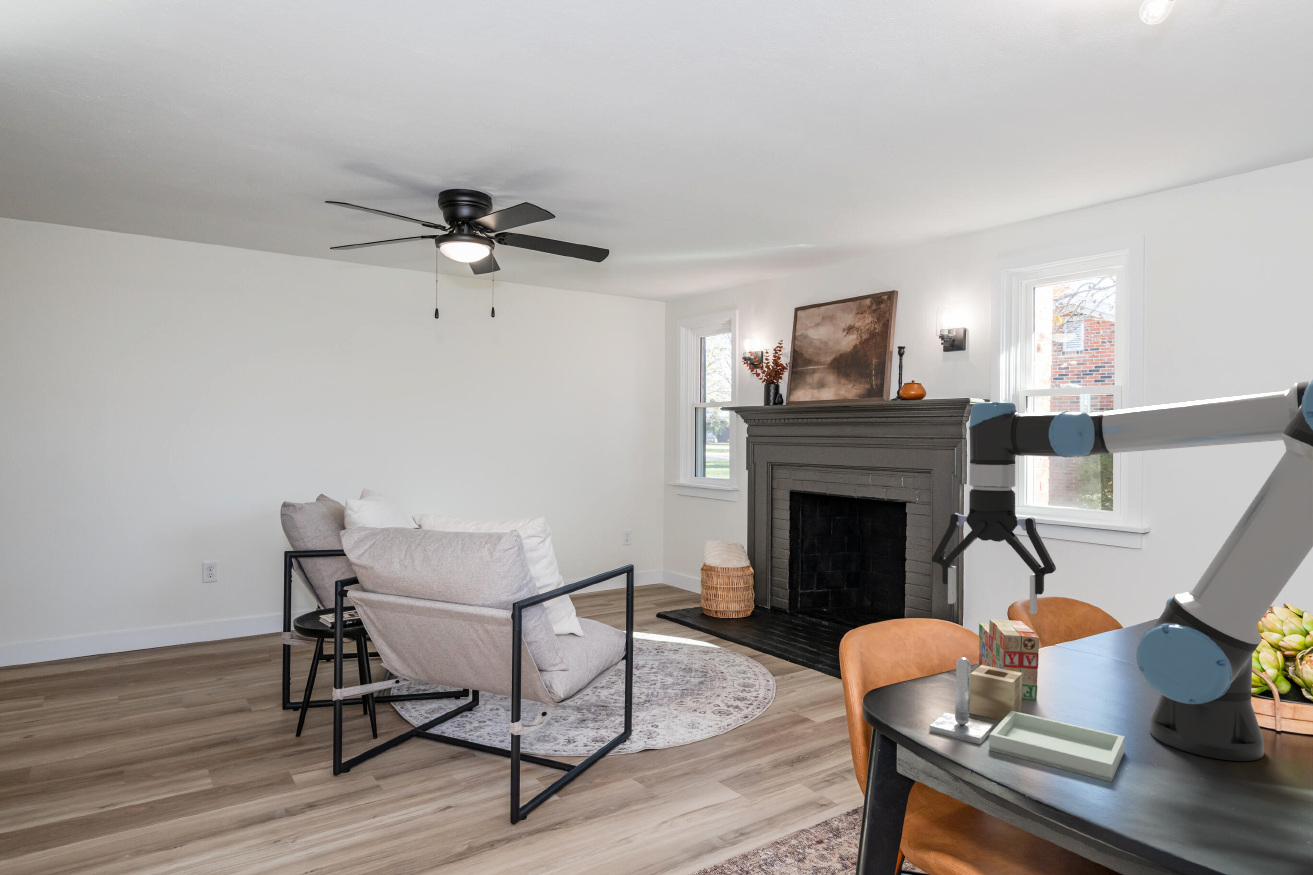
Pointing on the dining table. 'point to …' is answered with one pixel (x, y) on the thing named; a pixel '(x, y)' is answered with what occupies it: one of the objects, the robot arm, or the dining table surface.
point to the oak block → (995, 692)
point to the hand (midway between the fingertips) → (991, 607)
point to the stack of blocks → (1011, 651)
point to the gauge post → (962, 712)
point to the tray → (1059, 745)
